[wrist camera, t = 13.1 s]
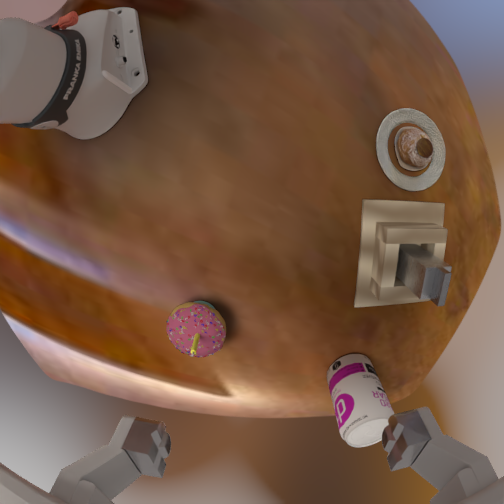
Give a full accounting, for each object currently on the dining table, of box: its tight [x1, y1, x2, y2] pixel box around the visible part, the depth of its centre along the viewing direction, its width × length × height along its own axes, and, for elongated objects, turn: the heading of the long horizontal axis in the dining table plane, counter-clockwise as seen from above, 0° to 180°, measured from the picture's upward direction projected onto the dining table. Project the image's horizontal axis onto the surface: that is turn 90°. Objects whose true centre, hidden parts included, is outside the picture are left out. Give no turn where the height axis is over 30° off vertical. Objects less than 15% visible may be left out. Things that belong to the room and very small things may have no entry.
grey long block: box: [396, 244, 452, 306], centre depth 32 cm, size 4×4×12 cm
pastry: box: [376, 108, 445, 191], centre depth 32 cm, size 12×12×5 cm
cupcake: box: [167, 301, 226, 357], centre depth 37 cm, size 9×8×12 cm
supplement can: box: [327, 354, 394, 447], centre depth 38 cm, size 8×8×15 cm
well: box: [354, 199, 448, 307], centre depth 36 cm, size 16×14×5 cm
